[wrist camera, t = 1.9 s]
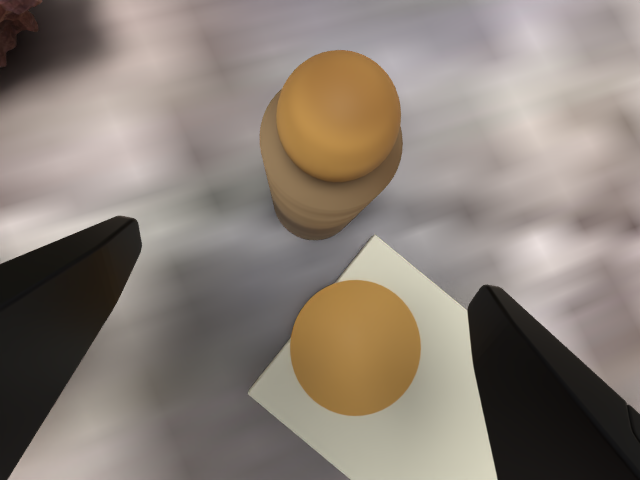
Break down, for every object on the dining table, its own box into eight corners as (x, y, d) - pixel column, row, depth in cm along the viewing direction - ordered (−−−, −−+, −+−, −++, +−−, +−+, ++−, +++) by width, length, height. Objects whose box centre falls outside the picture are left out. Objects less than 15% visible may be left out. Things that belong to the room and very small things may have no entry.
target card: (555, 643, 19) (568, 661, 18) (241, 382, 19) (238, 387, 18) (655, 470, 20) (672, 479, 19) (364, 230, 20) (367, 227, 20)
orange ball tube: (320, 256, 20) (363, 224, 8) (256, 204, 20) (204, 93, 8) (370, 195, 21) (481, 79, 9) (308, 144, 21) (333, -41, 9)
